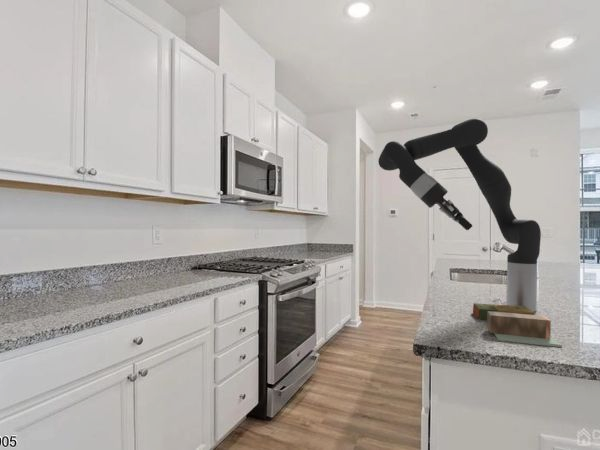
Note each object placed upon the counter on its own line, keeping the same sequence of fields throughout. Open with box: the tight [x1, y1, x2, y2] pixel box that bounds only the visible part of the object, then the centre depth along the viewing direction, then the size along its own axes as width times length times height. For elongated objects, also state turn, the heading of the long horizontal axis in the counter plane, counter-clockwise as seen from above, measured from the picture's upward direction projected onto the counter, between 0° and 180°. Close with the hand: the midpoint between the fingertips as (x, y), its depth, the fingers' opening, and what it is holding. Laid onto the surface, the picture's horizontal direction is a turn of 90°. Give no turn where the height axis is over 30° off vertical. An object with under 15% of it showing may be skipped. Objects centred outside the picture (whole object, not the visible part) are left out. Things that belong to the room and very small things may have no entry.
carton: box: [472, 302, 535, 321], centre depth 111 cm, size 8×16×4 cm, turn 74°
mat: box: [494, 334, 563, 348], centre depth 93 cm, size 14×13×1 cm
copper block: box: [486, 311, 552, 339], centre depth 93 cm, size 5×5×14 cm
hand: (469, 228), depth 104 cm, fingers closed
